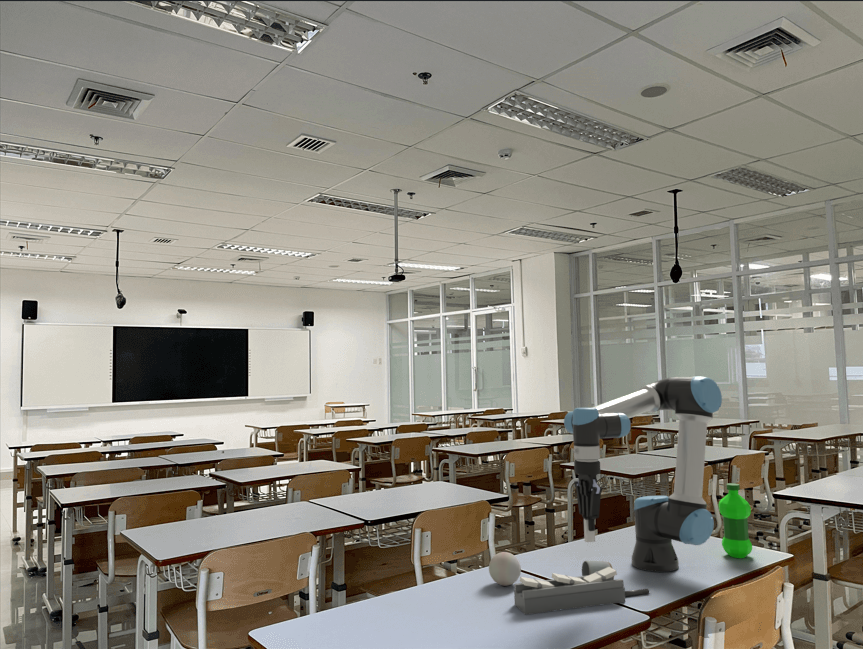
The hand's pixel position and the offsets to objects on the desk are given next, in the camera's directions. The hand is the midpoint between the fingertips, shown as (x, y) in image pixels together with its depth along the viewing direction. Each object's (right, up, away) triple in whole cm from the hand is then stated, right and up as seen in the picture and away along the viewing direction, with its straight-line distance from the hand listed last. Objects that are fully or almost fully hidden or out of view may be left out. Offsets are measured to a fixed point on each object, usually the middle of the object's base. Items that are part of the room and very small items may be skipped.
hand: (589, 541), depth 185 cm
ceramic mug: (+5, -18, +13) cm, 23 cm away
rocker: (+3, -10, 0) cm, 11 cm away
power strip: (-2, -17, -2) cm, 17 cm away
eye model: (-23, -19, +15) cm, 33 cm away
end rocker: (-16, -11, -5) cm, 20 cm away
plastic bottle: (+62, -18, +38) cm, 75 cm away
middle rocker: (-7, -10, -2) cm, 13 cm away
